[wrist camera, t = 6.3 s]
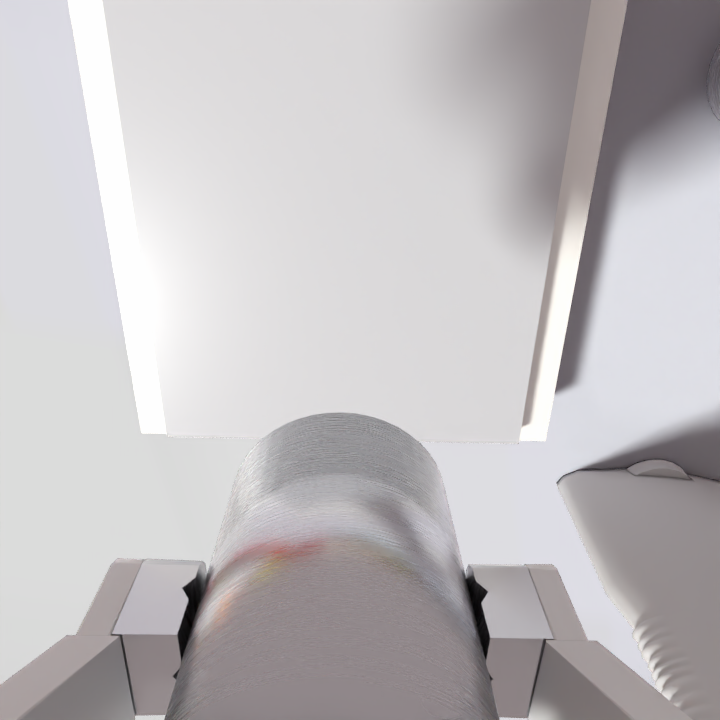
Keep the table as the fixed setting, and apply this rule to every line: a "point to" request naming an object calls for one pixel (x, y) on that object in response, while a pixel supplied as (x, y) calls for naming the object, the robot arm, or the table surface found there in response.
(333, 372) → the white rimmed tray
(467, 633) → the cylinder
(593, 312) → the table surface
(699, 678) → the tall pale column
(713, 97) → the cylinder
